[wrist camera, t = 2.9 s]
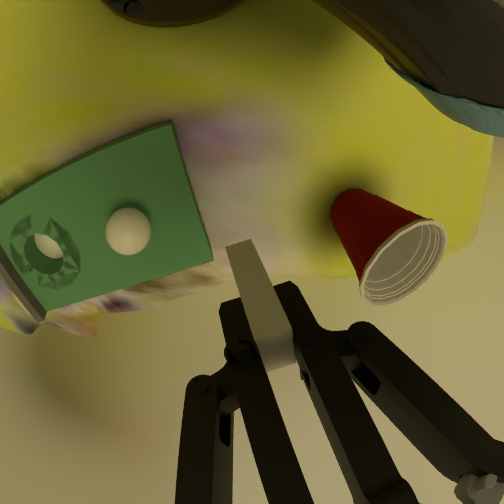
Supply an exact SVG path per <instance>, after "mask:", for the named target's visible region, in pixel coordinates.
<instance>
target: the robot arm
mask: <svg viewBox="0 0 504 504" xmlns="http://www.w3.org/2000/svg"><path fill="white" fill-rule="evenodd" d="M101 1H102V2H103V3H104V4H105V5H106V6H107V7H108V8H109V9H110V10H111V11H112V12H114V13H115V14H116V15H118V16H120V17H121V18H123V19H126V20H128V21H131V22H133V23H137V24H141V25H146V26H153V27H178V26H186V25H192V24H196V23H200V22H204V21H207V20H210V19H213V18H216V17H218V16H220V15H222V14H225V13H226V12H228V11H230V10H232V9H233V8H235V7H237V6H238V5H239V4H241V3H242V2H243V1H244V0H101ZM312 1H313V2H315V3H316V4H318V5H319V6H321V7H322V8H324V9H325V10H327V11H328V12H330V13H331V14H332V15H334V16H335V17H336V18H338V19H339V20H341V21H342V22H343V23H345V24H346V25H347V26H348V27H350V28H351V29H352V30H353V31H355V32H356V33H357V34H358V35H360V36H361V37H362V38H363V39H364V40H366V41H367V42H368V43H369V44H370V45H371V46H373V47H374V48H375V49H376V50H377V51H378V52H379V53H380V54H381V55H382V56H383V57H384V59H385V62H386V63H387V64H388V65H389V66H390V68H391V69H392V70H394V71H395V72H396V73H397V74H398V75H399V76H400V77H401V78H403V79H404V80H405V81H407V82H408V83H410V84H411V85H413V86H414V87H415V88H416V89H417V90H418V91H419V92H420V93H421V94H422V95H423V96H424V97H425V98H426V99H427V100H428V101H429V102H430V103H431V104H432V105H433V106H434V107H435V108H436V109H438V110H439V111H440V112H441V113H443V114H444V115H446V116H447V117H449V118H450V119H452V120H453V121H456V122H458V123H461V124H464V125H466V126H468V127H470V128H471V129H473V130H475V131H478V132H481V133H484V134H488V135H492V136H498V137H504V0H312ZM225 248H226V251H227V254H228V258H229V261H230V264H231V268H232V271H233V274H234V277H235V281H236V284H237V287H238V290H239V293H240V297H239V298H236V299H233V300H230V301H226V302H223V303H221V306H220V309H219V315H220V319H221V324H222V328H223V333H224V337H225V341H226V347H225V349H224V356H225V358H226V360H227V362H226V364H225V365H224V367H223V368H222V369H220V370H219V371H218V372H216V373H214V374H213V375H211V376H209V375H198V376H196V377H194V378H192V379H191V380H190V382H189V383H188V385H187V388H186V393H185V401H184V409H183V418H182V427H181V437H180V446H179V456H178V468H177V480H176V494H175V504H232V482H233V481H232V480H233V426H234V411H235V410H237V409H238V408H240V409H241V413H242V416H243V420H244V423H245V427H246V431H247V434H248V438H249V441H250V444H251V448H252V452H253V455H254V458H255V462H256V465H257V468H258V472H259V475H260V478H261V481H262V484H263V487H264V490H265V494H266V497H267V500H268V503H269V504H314V502H313V499H312V497H311V494H310V492H309V489H308V487H307V484H306V481H305V479H304V476H303V473H302V471H301V468H300V465H299V463H298V460H297V457H296V455H295V452H294V449H293V446H292V444H291V441H290V438H289V435H288V433H287V430H286V427H285V424H284V422H283V419H282V416H281V413H280V410H279V408H278V405H277V402H276V399H275V396H274V393H273V390H272V387H271V384H270V382H269V379H268V376H267V373H266V372H269V371H272V370H275V369H279V368H281V367H284V366H287V365H290V364H293V363H296V360H297V362H298V364H299V367H300V376H301V380H302V379H303V380H304V383H305V385H306V387H307V390H308V392H309V395H310V397H311V399H312V402H313V404H314V407H315V409H316V411H317V414H318V416H319V418H320V421H321V423H322V425H323V428H324V430H325V433H326V435H327V437H328V440H329V442H330V445H331V447H332V449H333V452H334V454H335V456H336V459H337V461H338V463H339V466H340V468H341V471H342V473H343V475H344V478H345V480H346V482H347V485H348V487H349V489H350V492H351V494H352V497H353V502H354V504H419V502H418V500H417V498H416V496H415V494H414V492H413V490H412V488H411V486H410V484H409V483H408V482H407V481H406V480H405V479H403V478H402V477H401V476H400V474H399V472H398V470H397V468H396V466H395V464H394V462H393V460H392V458H391V456H390V454H389V452H388V449H387V448H386V445H385V443H384V441H383V439H382V437H381V435H380V433H379V432H378V429H377V428H376V425H375V423H374V422H373V419H372V418H371V416H370V414H369V412H368V410H367V408H366V406H365V404H364V402H363V400H362V398H361V396H360V394H359V392H358V390H357V388H356V387H355V385H354V383H353V381H354V382H355V383H356V384H357V385H358V386H359V387H360V388H361V389H362V390H363V391H364V393H365V394H366V395H367V396H368V397H369V398H370V399H371V400H372V401H373V402H374V403H375V404H376V406H377V407H378V408H379V409H380V410H381V411H382V412H383V413H384V414H385V415H386V416H387V417H388V418H389V419H390V421H391V422H392V423H393V424H394V425H395V426H396V427H397V428H398V429H399V430H400V431H401V432H402V433H403V434H404V435H405V436H406V437H407V439H408V440H410V442H411V443H412V444H413V445H414V446H415V447H416V448H417V449H418V450H419V451H420V452H421V453H422V454H423V455H424V456H425V458H426V459H427V460H428V461H429V462H430V463H431V464H432V465H433V466H434V467H435V468H436V469H437V470H438V471H439V472H440V473H442V474H443V475H444V476H445V477H447V478H448V479H450V480H451V481H454V482H456V483H458V484H457V486H456V487H455V489H454V493H455V495H456V497H457V498H458V499H459V500H460V501H461V502H462V503H463V504H499V503H500V501H501V499H502V497H503V495H504V442H501V441H498V440H495V439H493V438H492V437H491V436H490V435H489V434H488V433H487V432H486V431H485V430H484V429H483V428H482V427H481V426H480V425H479V424H478V423H477V422H476V421H475V420H474V419H473V418H472V417H471V416H470V415H469V414H468V413H467V412H466V411H465V410H464V409H463V408H462V407H461V406H460V405H459V404H458V403H457V402H456V401H454V399H453V398H451V397H450V396H449V395H448V394H447V393H446V392H445V391H444V390H443V389H442V388H441V387H440V386H439V385H438V384H437V383H436V382H435V381H434V380H432V379H431V378H430V377H429V376H428V375H427V374H426V373H425V372H424V371H423V370H422V369H421V368H420V367H419V366H418V365H416V364H415V363H414V362H413V361H412V360H411V359H410V358H409V357H408V356H407V355H406V354H405V353H404V352H402V351H401V350H400V349H399V348H398V347H397V346H396V345H395V344H394V343H393V342H392V341H390V340H389V339H388V338H387V337H386V336H385V335H384V334H383V333H382V332H380V331H379V330H378V329H377V328H376V327H375V326H374V325H372V324H371V323H369V322H365V321H361V322H356V323H354V324H352V325H351V326H350V327H349V329H348V330H342V331H329V330H326V329H324V328H322V327H321V326H319V324H318V323H317V321H316V319H315V317H314V316H313V314H312V312H311V310H310V308H309V306H308V305H307V303H306V301H305V299H304V297H303V295H302V294H301V292H300V290H299V288H298V286H296V285H295V284H294V283H292V282H291V281H287V282H284V283H282V284H278V285H275V286H272V283H271V282H270V279H269V277H268V275H267V272H266V270H265V268H264V266H263V264H262V262H261V259H260V257H259V255H258V253H257V251H256V249H255V246H254V244H253V242H252V240H251V239H249V240H246V241H243V242H239V243H236V244H233V245H230V246H226V247H225ZM352 380H353V381H352Z"/></svg>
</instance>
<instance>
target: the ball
mask: <svg viewBox="0 0 504 504" xmlns="http://www.w3.org/2000/svg"><path fill="white" fill-rule="evenodd" d="M105 234H106V239H107V242H108V244H109V245H110V247H111V248H112V249H113V250H114V251H116V252H117V253H119V254H122V255H133V254H136V253H138V252H140V251H141V250H143V249H144V248H145V246H146V245H147V243H148V242H149V239H150V235H151V227H150V223H149V220H148V219H147V217H146V216H145V215H144V213H142V212H141V211H140V210H138V209H135V208H129V207H128V208H122V209H119V210H117V211H116V212H114V213H113V214H112V215H111V217H110V218H109V220H108V222H107V224H106V229H105Z"/></svg>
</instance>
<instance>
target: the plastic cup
mask: <svg viewBox="0 0 504 504" xmlns="http://www.w3.org/2000/svg"><path fill="white" fill-rule="evenodd" d="M330 217H331V220H332V223H333V227H334V229H335V230H336V232H337V234H338V236H339V237H340V241H341V243H342V245H343V247H344V249H345V251H346V253H347V254H348V256H349V258H350V260H351V262H352V264H353V266H354V268H355V271H356V274H357V277H358V279H359V287H360V294H361V299H362V301H363V302H365V303H366V304H367V305H368V306H369V307H386V306H389V305H392V304H395V303H398V302H400V301H401V300H403V299H405V298H407V297H408V296H410V295H412V294H413V293H414V292H415V291H416V290H418V288H420V287H421V286H422V285H423V284H424V283H425V282H427V280H428V279H429V278H430V277H431V275H432V274H433V273H434V272H435V270H436V269H437V268H438V266H439V264H440V262H441V260H442V258H443V256H444V254H445V252H446V246H447V240H448V235H447V232H446V229H445V226H444V225H442V224H440V223H439V222H437V221H435V220H433V219H431V218H429V219H427V218H424V217H422V216H420V215H417V214H415V213H413V212H411V211H407V210H405V209H403V208H401V207H399V206H397V205H395V204H393V203H391V202H389V201H387V200H385V199H383V198H381V197H379V196H377V195H373V194H370V193H368V192H366V191H364V190H361V189H349V190H347V191H345V192H343V193H342V194H341V195H340V196H339V197H338V198H337V199H336V200H335V202H334V204H333V206H332V208H331V215H330Z"/></svg>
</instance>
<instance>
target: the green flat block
mask: <svg viewBox="0 0 504 504" xmlns="http://www.w3.org/2000/svg"><path fill="white" fill-rule="evenodd" d="M128 207H129V208H135V209H138V210H140V211H141V212H142V213H144V215H145V216H146V217H147V219H148V220H149V223H150V227H151V235H150V239H149V242H148V243H147V245H146V246H145V248H144V249H143V250H141V251H140V252H138V253H136V254H133V255H122V254H119V253H117V252H116V251H114V250H113V249H112V248H111V247H110V245H109V244H108V242H107V239H106V234H105V229H106V224H107V222H108V220H109V218H110V217H111V215H112V214H113V213H114V212H116V211H117V210H119V209H122V208H128ZM57 258H59V259H57ZM211 261H214V259H213V254H212V250H211V245H210V242H209V239H208V236H207V233H206V230H205V227H204V224H203V221H202V218H201V215H200V212H199V208H198V205H197V202H196V199H195V196H194V193H193V190H192V186H191V183H190V180H189V177H188V174H187V170H186V167H185V164H184V160H183V157H182V154H181V150H180V147H179V144H178V140H177V137H176V133H175V130H174V127H173V123H172V120H169V121H166V122H163V123H160V124H157V125H154V126H152V127H149V128H146V129H143V130H140V131H138V132H135V133H132V134H130V135H127V136H125V137H122V138H120V139H117V140H115V141H112V142H110V143H108V144H105V145H103V146H101V147H98V148H96V149H94V150H92V151H90V152H87V153H85V154H83V155H81V156H79V157H77V158H75V159H73V160H71V161H69V162H67V163H65V164H63V165H61V166H59V167H57V168H55V169H53V170H52V171H50V172H48V173H46V174H44V175H42V176H41V177H39V178H37V179H35V180H34V181H32V182H30V183H29V184H27V185H25V186H24V187H22V188H21V189H19V190H17V191H16V192H14V193H13V194H11V195H10V196H8V197H6V198H5V199H3V200H2V201H1V202H0V274H1V275H2V277H3V278H4V279H5V281H6V282H7V284H8V285H9V286H10V288H11V289H12V291H13V292H14V293H15V295H16V296H17V297H18V299H19V300H20V301H21V302H22V304H23V305H24V306H25V308H26V309H27V310H28V311H29V312H30V314H31V315H32V316H33V317H34V318H35V320H36V321H37V322H40V321H44V319H45V316H46V313H47V311H50V310H54V309H57V308H60V307H63V306H67V305H70V304H73V303H76V302H80V301H83V300H86V299H89V298H93V297H96V296H99V295H103V294H106V293H109V292H112V291H116V290H119V289H122V288H125V287H129V286H132V285H135V284H139V283H142V282H145V281H148V280H152V279H155V278H158V277H162V276H165V275H168V274H171V273H175V272H178V271H181V270H185V269H188V268H191V267H195V266H198V265H201V264H204V263H208V262H211Z"/></svg>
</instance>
